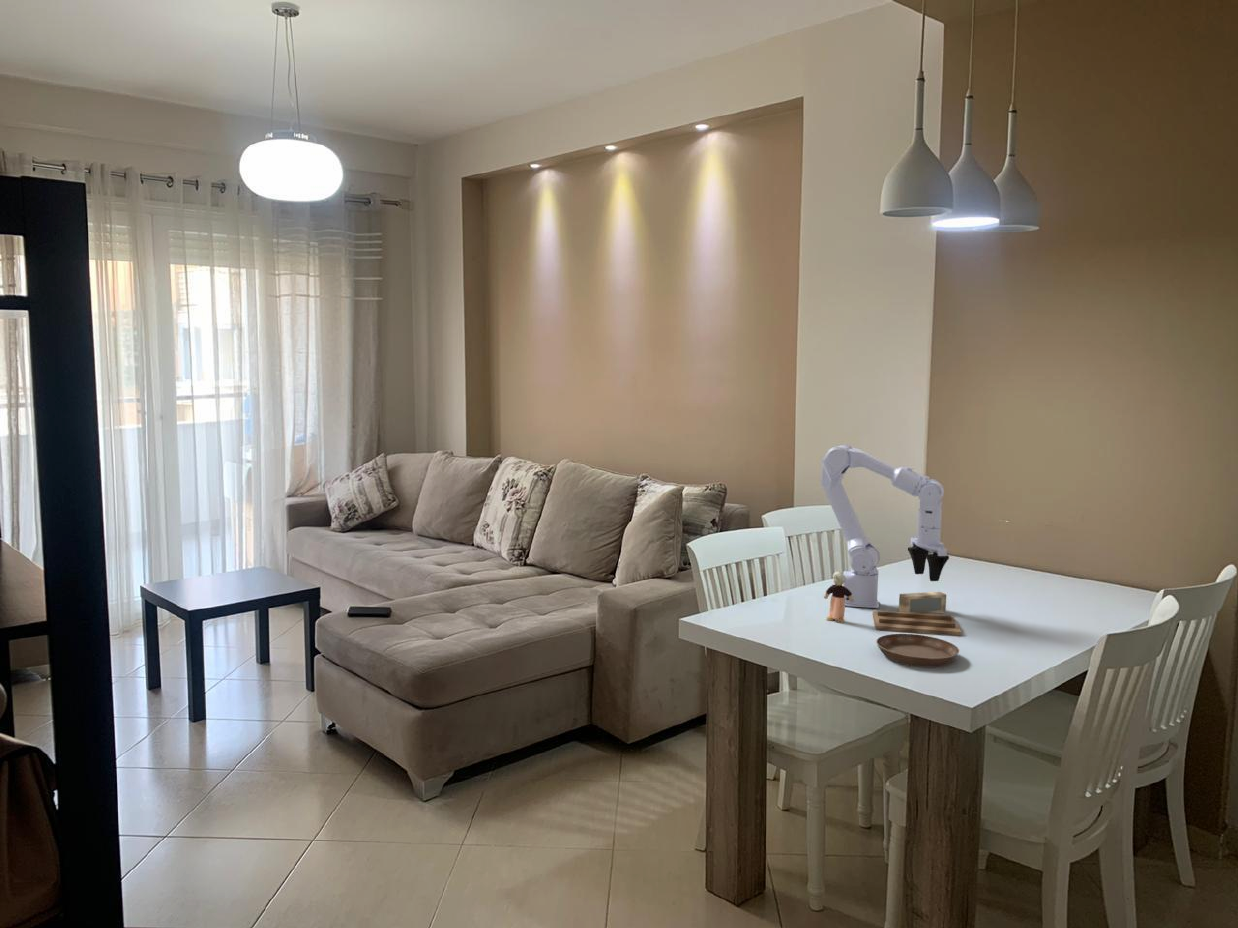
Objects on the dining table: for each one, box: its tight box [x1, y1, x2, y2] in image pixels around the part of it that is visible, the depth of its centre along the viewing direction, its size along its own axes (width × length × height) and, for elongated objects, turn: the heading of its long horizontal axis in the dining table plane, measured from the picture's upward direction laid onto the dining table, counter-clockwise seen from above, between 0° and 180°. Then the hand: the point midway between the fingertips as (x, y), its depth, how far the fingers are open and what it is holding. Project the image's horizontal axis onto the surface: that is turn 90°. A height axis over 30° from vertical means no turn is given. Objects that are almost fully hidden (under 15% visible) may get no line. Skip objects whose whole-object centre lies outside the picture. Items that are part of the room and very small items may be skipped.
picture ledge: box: [872, 610, 962, 637], centre depth 229 cm, size 20×14×2 cm
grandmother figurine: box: [823, 571, 854, 623], centre depth 231 cm, size 8×4×13 cm, turn 68°
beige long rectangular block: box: [898, 591, 947, 614], centre depth 240 cm, size 12×3×5 cm, turn 103°
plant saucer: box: [875, 633, 960, 668], centre depth 204 cm, size 18×18×3 cm
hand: (926, 577), depth 240 cm, fingers open, 7 cm apart
